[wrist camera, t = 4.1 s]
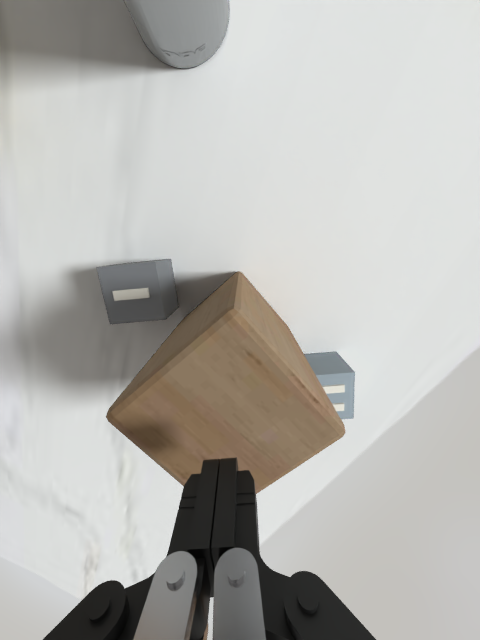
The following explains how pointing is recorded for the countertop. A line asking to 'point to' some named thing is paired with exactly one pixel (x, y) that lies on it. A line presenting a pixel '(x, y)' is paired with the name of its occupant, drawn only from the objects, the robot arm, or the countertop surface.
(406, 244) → the countertop surface
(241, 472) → the robot arm
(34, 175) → the countertop surface
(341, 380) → the slate marked block
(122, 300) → the charcoal marked block
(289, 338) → the wooden block
